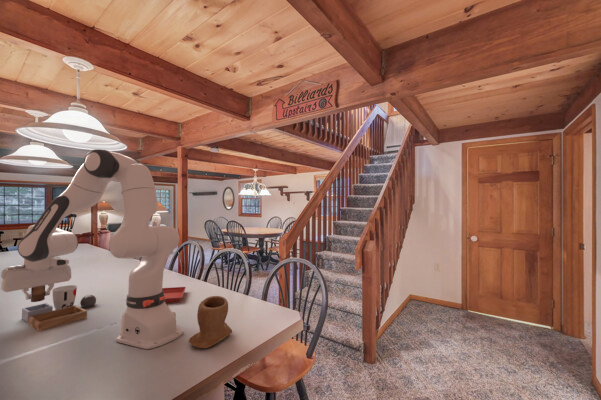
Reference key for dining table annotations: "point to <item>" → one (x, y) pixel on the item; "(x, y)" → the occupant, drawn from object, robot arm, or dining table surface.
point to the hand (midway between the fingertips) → (38, 297)
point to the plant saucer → (173, 294)
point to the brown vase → (211, 322)
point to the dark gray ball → (88, 301)
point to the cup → (64, 296)
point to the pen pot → (35, 310)
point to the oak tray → (57, 317)
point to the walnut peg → (38, 293)
